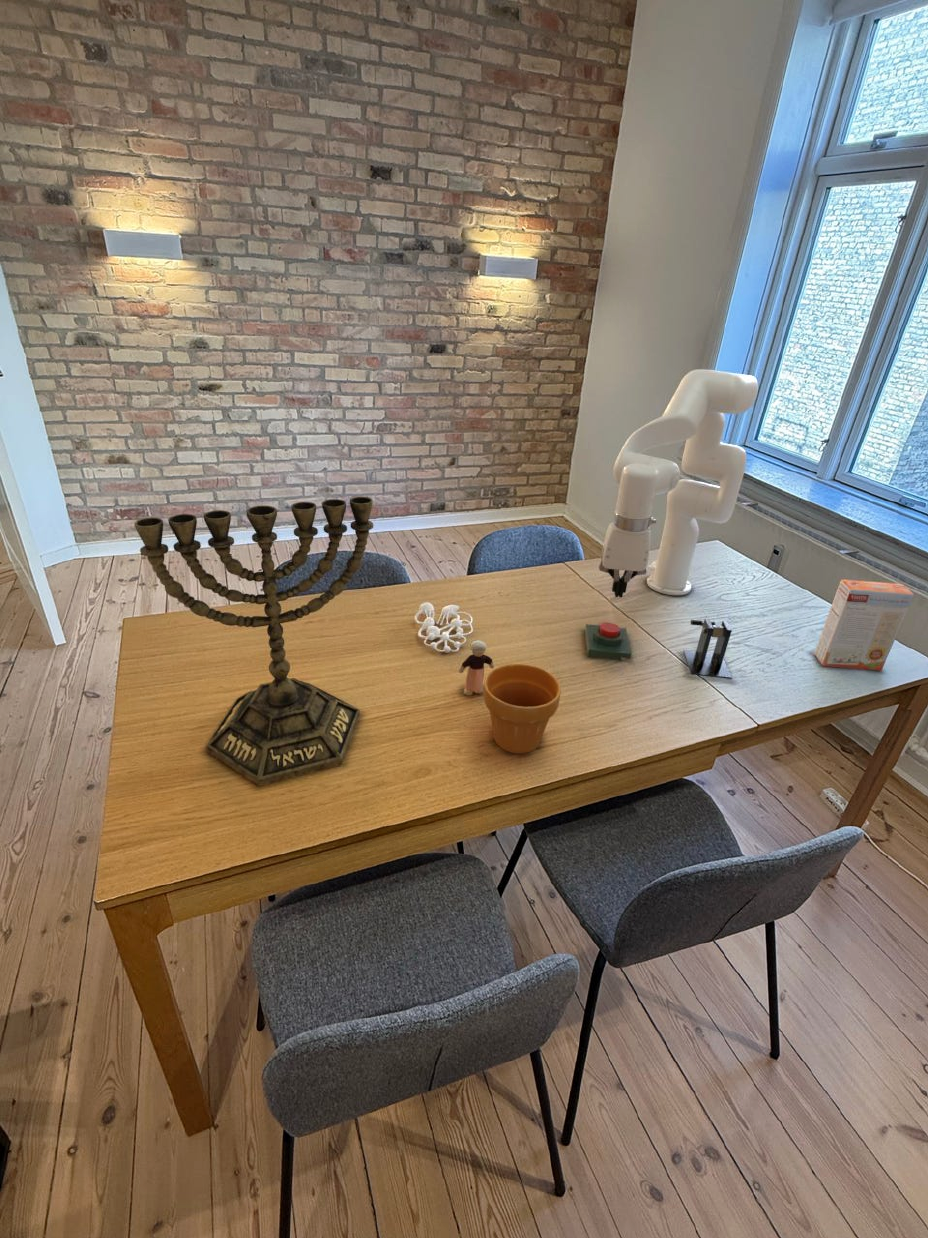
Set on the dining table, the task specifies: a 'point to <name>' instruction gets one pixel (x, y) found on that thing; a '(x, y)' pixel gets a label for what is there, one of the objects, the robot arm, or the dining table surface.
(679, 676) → the dining table surface
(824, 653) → the cracker box
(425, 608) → the tangled rod sculpture
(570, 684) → the dining table surface
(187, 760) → the dining table surface
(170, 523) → the menorah
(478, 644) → the grandmother figurine
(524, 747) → the flower pot
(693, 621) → the switch lever
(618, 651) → the button box
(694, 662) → the switch bracket
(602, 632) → the red button
